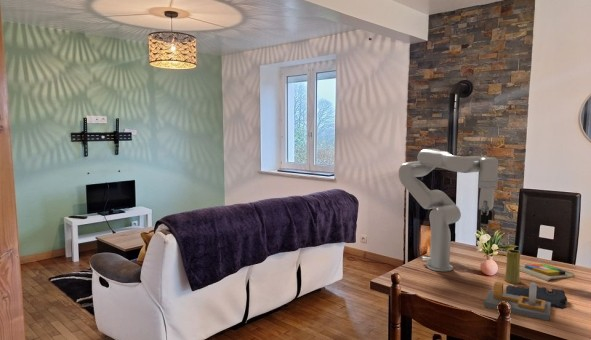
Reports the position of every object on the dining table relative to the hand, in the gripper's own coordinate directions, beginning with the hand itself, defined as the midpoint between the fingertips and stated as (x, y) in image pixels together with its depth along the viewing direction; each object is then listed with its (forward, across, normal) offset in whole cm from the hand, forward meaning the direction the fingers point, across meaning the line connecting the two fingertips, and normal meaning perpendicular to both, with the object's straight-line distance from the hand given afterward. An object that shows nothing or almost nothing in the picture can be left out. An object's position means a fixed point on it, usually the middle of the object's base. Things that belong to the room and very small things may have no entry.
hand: (486, 221), depth 187 cm
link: (+26, +22, +16) cm, 38 cm away
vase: (+28, -8, +11) cm, 32 cm away
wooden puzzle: (+29, -29, +23) cm, 47 cm away
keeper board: (+28, +22, +16) cm, 39 cm away
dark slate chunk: (+29, +8, +21) cm, 37 cm away
